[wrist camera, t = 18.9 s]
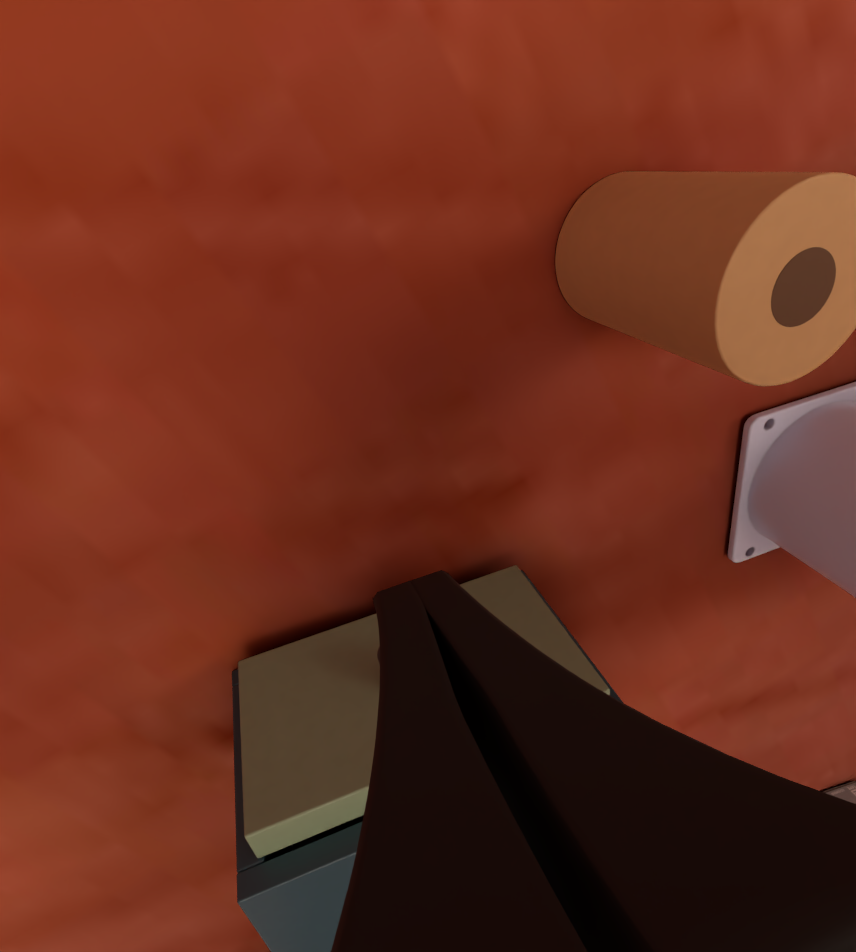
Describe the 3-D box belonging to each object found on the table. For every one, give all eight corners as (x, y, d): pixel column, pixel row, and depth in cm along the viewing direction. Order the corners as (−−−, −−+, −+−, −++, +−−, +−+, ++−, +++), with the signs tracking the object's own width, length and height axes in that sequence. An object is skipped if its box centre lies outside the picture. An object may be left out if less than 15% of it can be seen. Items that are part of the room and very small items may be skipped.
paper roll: (682, 158, 19) (911, 153, 13) (674, 304, 22) (864, 360, 15) (550, 186, 18) (727, 196, 12) (557, 335, 21) (707, 409, 14)
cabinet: (231, 670, 23) (236, 903, 16) (522, 568, 25) (644, 730, 18) (319, 851, 30) (351, 1071, 22) (542, 758, 32) (636, 930, 25)
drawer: (226, 638, 21) (229, 813, 15) (513, 540, 23) (610, 662, 17) (322, 839, 28) (348, 1012, 22) (536, 750, 30) (611, 887, 24)
